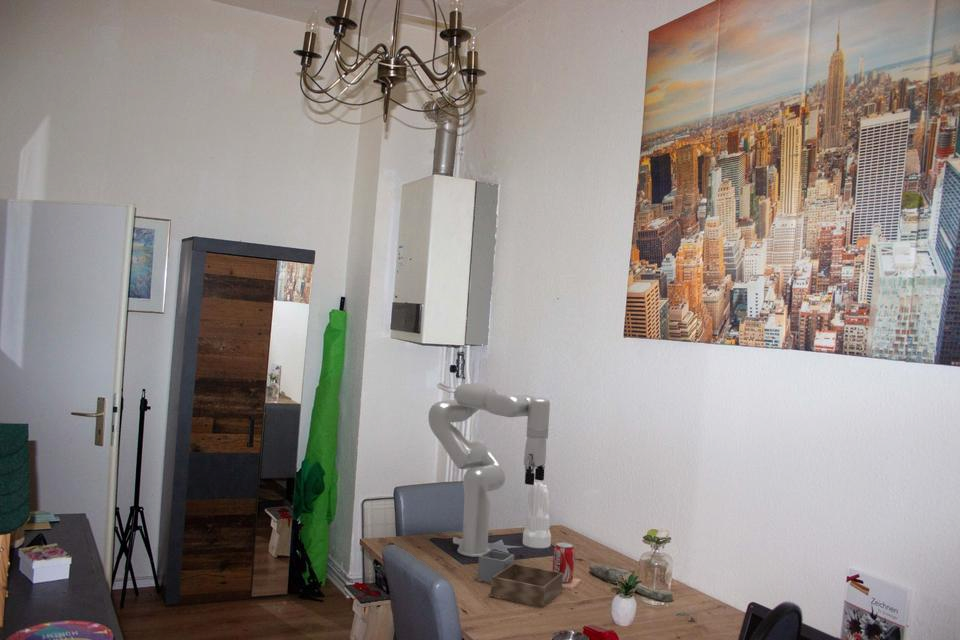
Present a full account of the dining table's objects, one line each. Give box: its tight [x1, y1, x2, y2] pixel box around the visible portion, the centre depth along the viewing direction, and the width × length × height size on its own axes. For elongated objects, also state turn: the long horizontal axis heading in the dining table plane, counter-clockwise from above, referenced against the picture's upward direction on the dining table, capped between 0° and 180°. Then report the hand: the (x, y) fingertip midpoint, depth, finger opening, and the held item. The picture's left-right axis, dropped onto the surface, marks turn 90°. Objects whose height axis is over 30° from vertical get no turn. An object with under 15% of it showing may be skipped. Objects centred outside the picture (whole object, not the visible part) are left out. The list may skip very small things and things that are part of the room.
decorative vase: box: [522, 481, 552, 549], centre depth 313 cm, size 11×11×25 cm
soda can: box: [552, 541, 576, 583], centre depth 268 cm, size 7×7×12 cm
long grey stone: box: [589, 563, 674, 603], centre depth 269 cm, size 35×5×10 cm
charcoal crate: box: [477, 549, 515, 584], centre depth 267 cm, size 9×9×8 cm
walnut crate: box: [490, 562, 563, 608], centre depth 254 cm, size 17×17×6 cm
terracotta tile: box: [562, 577, 582, 591], centre depth 267 cm, size 10×10×1 cm
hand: (534, 482), depth 281 cm, fingers open, 9 cm apart
